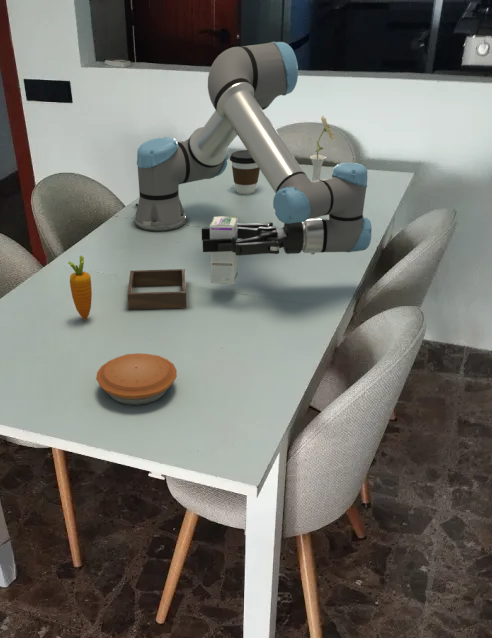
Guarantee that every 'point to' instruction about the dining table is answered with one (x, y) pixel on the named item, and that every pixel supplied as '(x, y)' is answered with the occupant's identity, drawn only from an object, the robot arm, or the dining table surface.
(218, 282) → the syrup box
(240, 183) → the coffee cup
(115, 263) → the dining table surface
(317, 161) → the flower in vase
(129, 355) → the pie
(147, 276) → the wooden frame
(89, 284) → the carrot
